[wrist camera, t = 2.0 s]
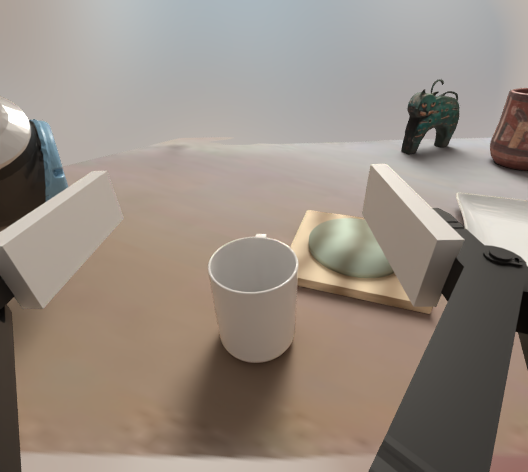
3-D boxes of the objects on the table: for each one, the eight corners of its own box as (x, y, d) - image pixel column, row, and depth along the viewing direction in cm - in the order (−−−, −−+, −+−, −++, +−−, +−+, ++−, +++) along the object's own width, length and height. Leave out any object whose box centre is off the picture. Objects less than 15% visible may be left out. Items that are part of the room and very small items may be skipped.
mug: (294, 371, 30) (299, 296, 24) (212, 366, 31) (196, 291, 25) (294, 290, 40) (297, 222, 34) (232, 288, 41) (224, 221, 35)
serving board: (277, 281, 41) (277, 268, 40) (306, 216, 57) (307, 205, 56) (429, 314, 36) (436, 300, 34) (415, 232, 51) (419, 220, 50)
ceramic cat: (408, 156, 86) (426, 82, 75) (392, 150, 91) (407, 80, 80) (453, 147, 93) (477, 77, 82) (436, 142, 98) (456, 76, 87)
